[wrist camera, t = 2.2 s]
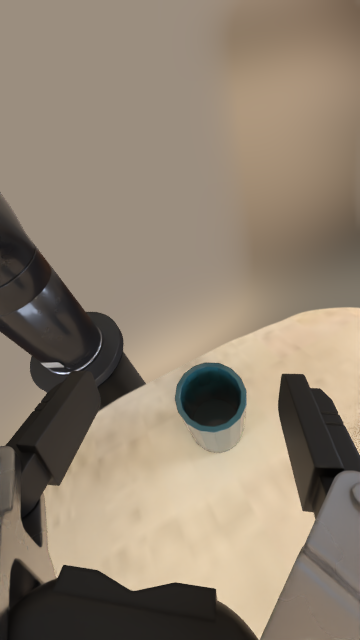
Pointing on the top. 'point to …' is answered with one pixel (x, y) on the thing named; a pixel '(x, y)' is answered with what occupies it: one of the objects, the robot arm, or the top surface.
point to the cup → (212, 405)
